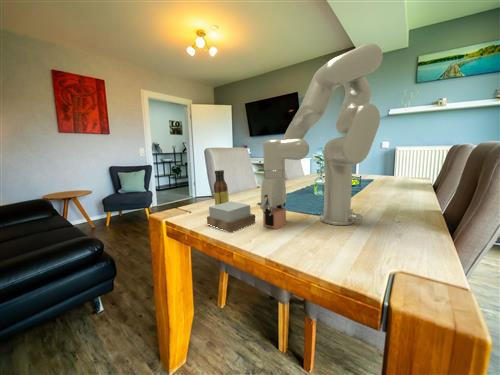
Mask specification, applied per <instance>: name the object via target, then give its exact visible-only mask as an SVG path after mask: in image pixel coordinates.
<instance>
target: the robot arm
mask: <svg viewBox="0 0 500 375" xmlns="http://www.w3.org/2000/svg"><path fill="white" fill-rule="evenodd" d="M383 55H384V54H383V51H382V48H381V47H380V46H379V45H378V44H376V43H365V44H362V45H360V46H359V47H356V48H354V49H351V50H349V51H347V52H343V53H342V54H340V55H338V56H335V57H333V58H331V59H330V60H328V61H327V62H326V63H325V64H323V65H322V66H321V67H320V68H318V70H317V71H315V73H314V75H313V77H312V79H311V82H310V83H309V85H308V88H307V90H306V92H305V95H304V97H303V99H302V102H301V104H300V106H299V108H298V110H297V112H296V113H295V115H294V116H293V118H292V120H291V122H290V123H289V125H288V127H287V129H286V131H285V133H284V135H283V138H282V139H277V138H275V139H267V140H265V141H264V142H263V144H262V145H263V146H262V147H263V179H262V182H261V183H262V184H261V193H260V205H259V207H260V209H261V211H262V213H263V212H264V214H265V224H266V225H269V226H273V215H272V213H273V208H274V207H275V208H281V209H285V206H286V203H287V201H288V198H287V191H286V190H287V187H286V180H285V178H286V171H285V170H286V167H285V166H286V163H285V162H286V161H285V160H292V161H300V160H303V159H305V158H306V157H308V154H309V152H310V145H309V143H308V142H307V141H306V140H304V139H305V136H306V134H307V133H308V132H309V131H310V129H311V128H312V127H313V126H314V125H316V124H317V123H318V122H319V121H320V120H321V119H322V117H323V115H324V113H325V112H326V109H327V107H328V105H329V103H330V100H331V97H332V96H333V93H334V91H335V89H337V88H340V86H342V85H343V87H344V91H345V95H344V99H343V102H342V105H341V107H340V110H339V114H338V116H337V119H336V122H335V128H336V131H337V132H338V133H339V134H340V135H343V136H340V137H334V138H332V139H329V141H327V142H326V143H325V145H324V147H323V151H322V156H323V162H324V189H323V190H324V194H323V197H324V198H323V201H324V202H323V203H324V204H323V214H321V215H319V220H320V221H321V222H323V223H325V224H329V225H333V226H334V225H335V226H348V225H352V224H354V223H355V220H356V221H363V215H361V213H355V212H354V210H353V209H351V207H352V206H351V205H352V203H351V202H352V188H353V187H352V184H353V183H352V182H353V170H352V166H351V165H358V164H361V163H363V162H364V161H365V159H367V157H368V155H369V153H370V151H371V149H372V146H373V144H374V140H375V137H376V135H377V132H378V130H379V126H380V123H381V114H380V110H379V108H378V107H377V105H375V104H373V103H371V102H370V101H371V97H372V90H371V87H370V84H369V82H368V81H367V78H366V76H367V75H370V74H371V73H373V72H375V71H376V70H377V69H378V68H379V67H380V65H381V64H382V61H383V58H384V57H383ZM269 208H270V211H269V210H268V209H269Z"/></svg>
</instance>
